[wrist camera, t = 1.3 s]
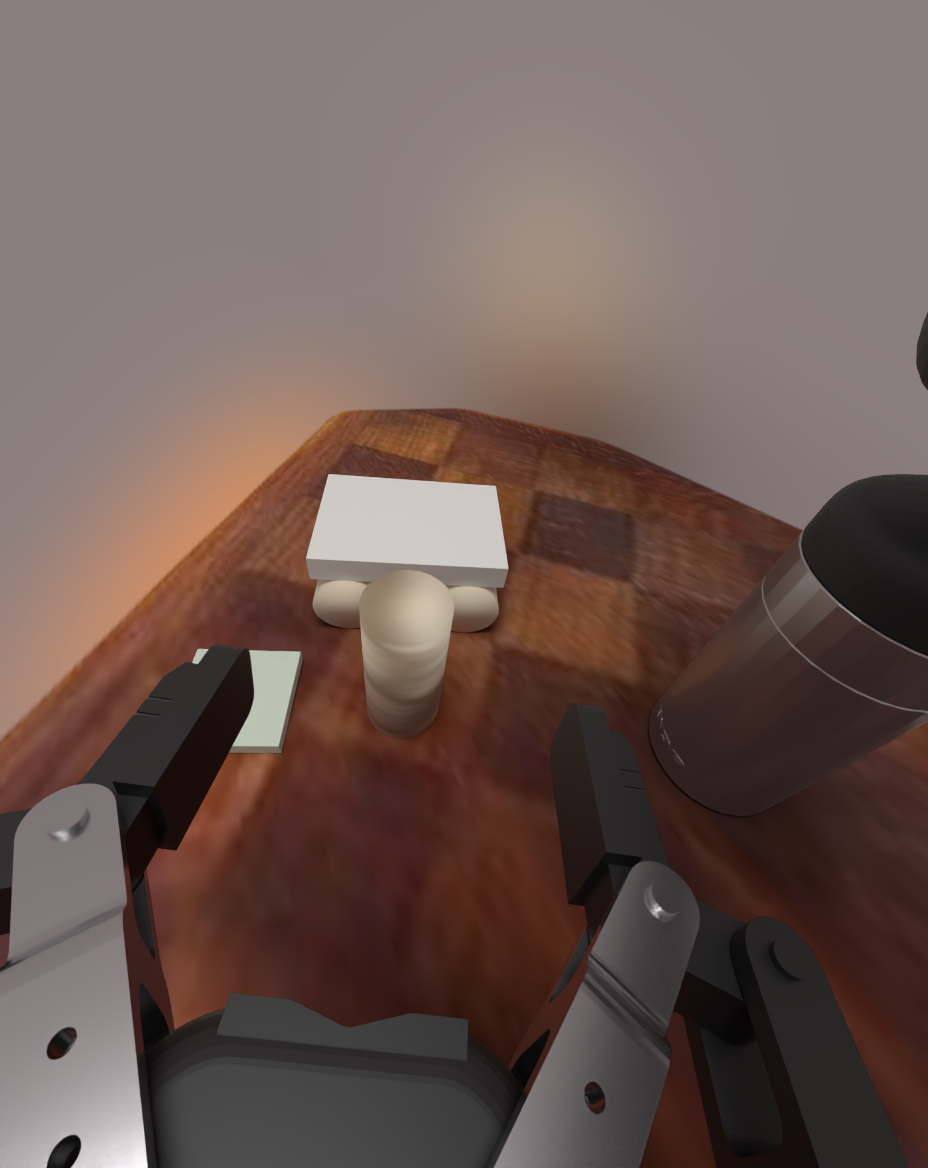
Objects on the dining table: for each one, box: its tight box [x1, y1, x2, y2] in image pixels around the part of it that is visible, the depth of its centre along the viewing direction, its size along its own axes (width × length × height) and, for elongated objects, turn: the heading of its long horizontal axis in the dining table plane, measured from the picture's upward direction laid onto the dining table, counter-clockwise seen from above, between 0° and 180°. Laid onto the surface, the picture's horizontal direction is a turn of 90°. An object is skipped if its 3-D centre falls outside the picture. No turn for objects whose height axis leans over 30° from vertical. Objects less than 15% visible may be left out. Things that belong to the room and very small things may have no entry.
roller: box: [359, 570, 454, 739], centre depth 28 cm, size 5×5×11 cm
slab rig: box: [306, 474, 508, 632], centre depth 38 cm, size 14×11×7 cm
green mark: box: [192, 649, 303, 753], centre depth 31 cm, size 7×7×1 cm
